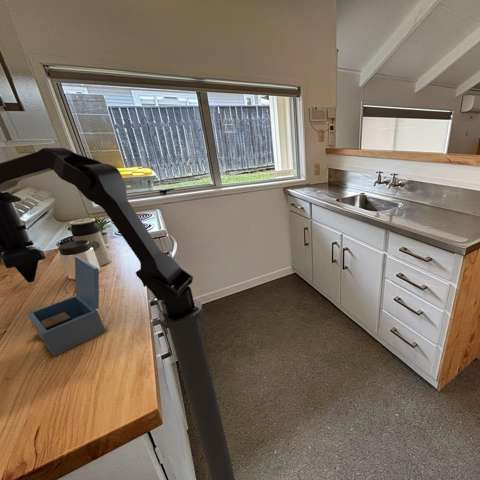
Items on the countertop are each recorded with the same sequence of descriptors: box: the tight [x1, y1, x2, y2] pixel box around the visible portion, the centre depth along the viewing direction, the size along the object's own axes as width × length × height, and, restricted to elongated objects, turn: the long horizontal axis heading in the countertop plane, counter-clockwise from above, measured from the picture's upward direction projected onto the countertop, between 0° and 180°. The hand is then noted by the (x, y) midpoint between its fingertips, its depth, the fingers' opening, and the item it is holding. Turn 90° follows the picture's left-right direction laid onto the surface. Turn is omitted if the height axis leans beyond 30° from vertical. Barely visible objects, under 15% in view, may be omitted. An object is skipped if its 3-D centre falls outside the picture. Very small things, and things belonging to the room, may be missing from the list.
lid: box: [74, 257, 100, 310], centre depth 65 cm, size 10×14×1 cm
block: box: [41, 312, 71, 330], centre depth 62 cm, size 4×4×4 cm
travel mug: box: [68, 217, 111, 267], centre depth 99 cm, size 8×8×18 cm
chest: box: [26, 294, 106, 357], centre depth 63 cm, size 10×14×6 cm
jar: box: [57, 240, 102, 280], centre depth 92 cm, size 9×8×12 cm
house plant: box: [89, 213, 114, 249], centre depth 115 cm, size 14×14×16 cm
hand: (30, 281), depth 65 cm, fingers closed
